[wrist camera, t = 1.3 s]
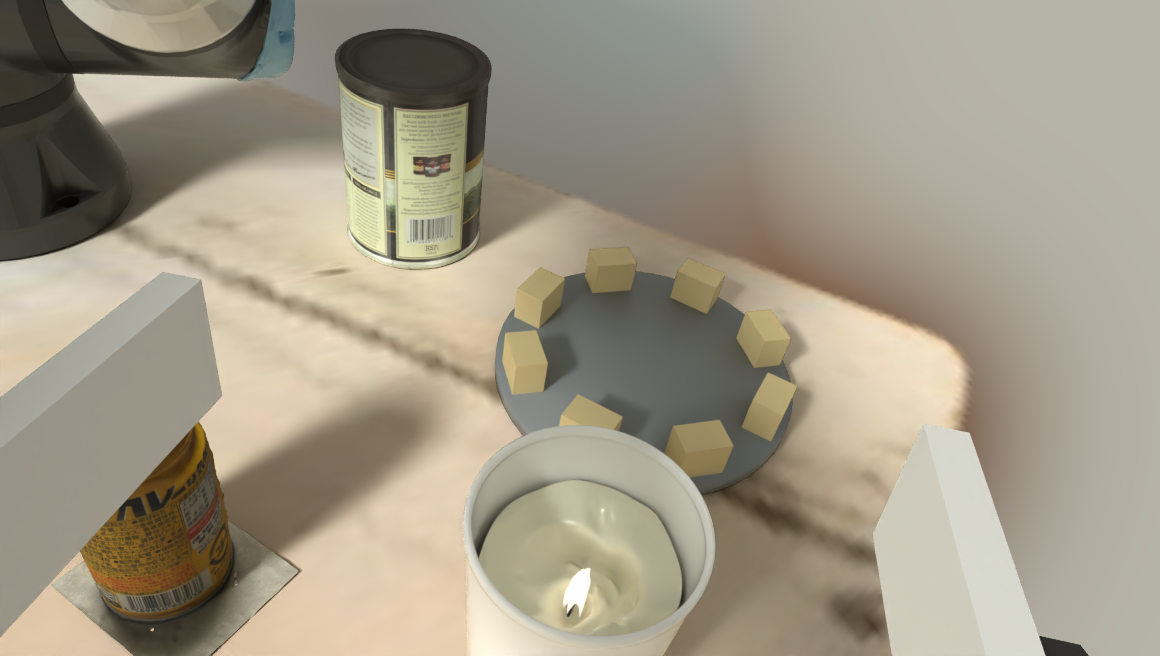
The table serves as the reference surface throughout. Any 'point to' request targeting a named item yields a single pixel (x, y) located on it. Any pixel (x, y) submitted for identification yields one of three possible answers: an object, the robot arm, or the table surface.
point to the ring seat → (648, 364)
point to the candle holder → (582, 547)
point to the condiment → (174, 563)
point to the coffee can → (413, 144)
